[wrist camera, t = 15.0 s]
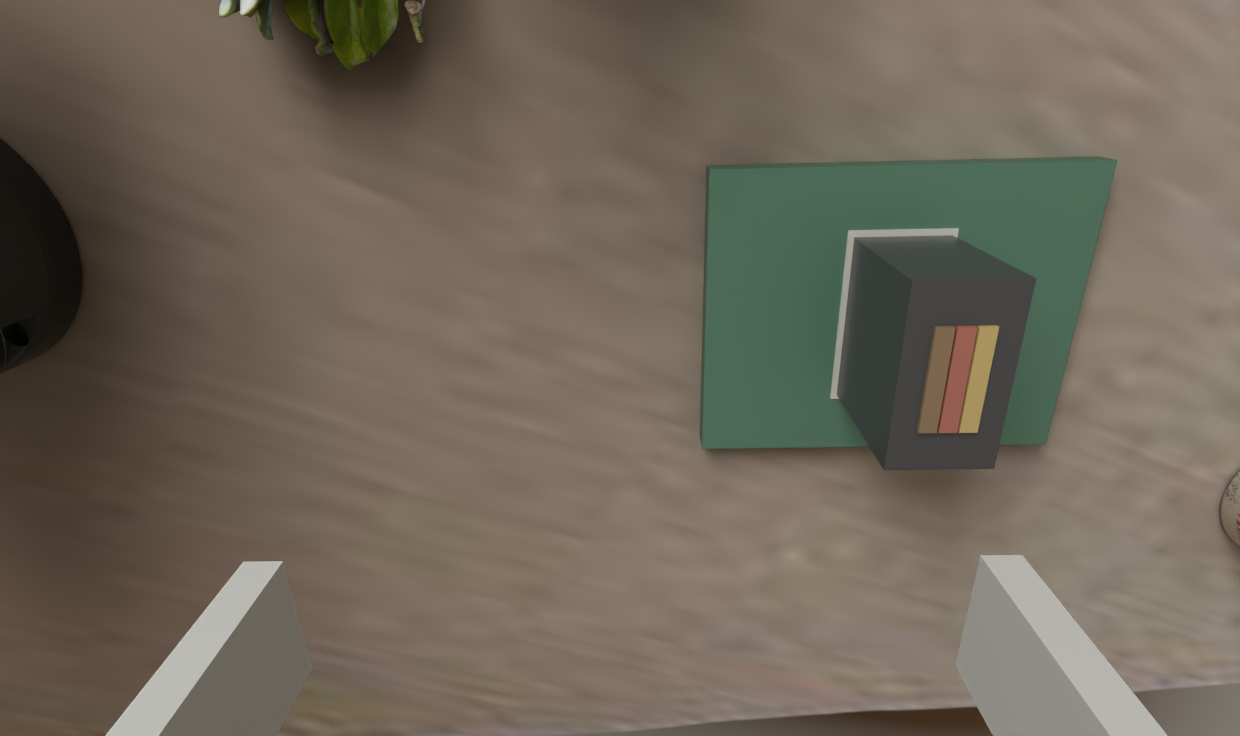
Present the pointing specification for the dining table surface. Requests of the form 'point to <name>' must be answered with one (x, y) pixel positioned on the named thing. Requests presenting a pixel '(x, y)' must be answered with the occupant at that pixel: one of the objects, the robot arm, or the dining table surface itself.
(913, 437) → the plug housing
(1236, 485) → the teacup with lid
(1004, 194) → the header board
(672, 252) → the dining table surface
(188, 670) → the robot arm
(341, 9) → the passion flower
